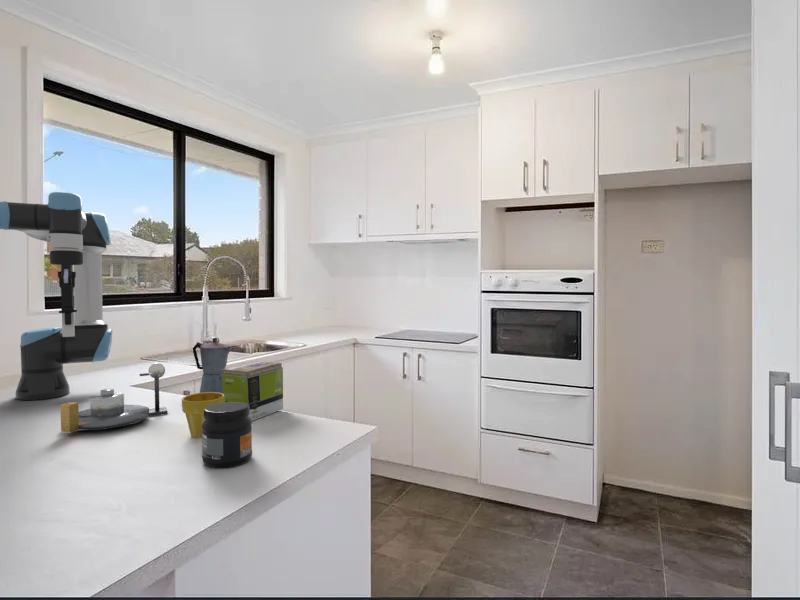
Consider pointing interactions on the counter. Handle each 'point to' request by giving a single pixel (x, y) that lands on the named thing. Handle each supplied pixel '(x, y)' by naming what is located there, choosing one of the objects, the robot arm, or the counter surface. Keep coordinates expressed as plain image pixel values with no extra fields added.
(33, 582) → the counter surface
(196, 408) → the plant pot
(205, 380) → the moka pot
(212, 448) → the supplement container
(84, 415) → the turntable
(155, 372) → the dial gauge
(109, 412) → the cover
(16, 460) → the counter surface
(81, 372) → the counter surface
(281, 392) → the tea box
